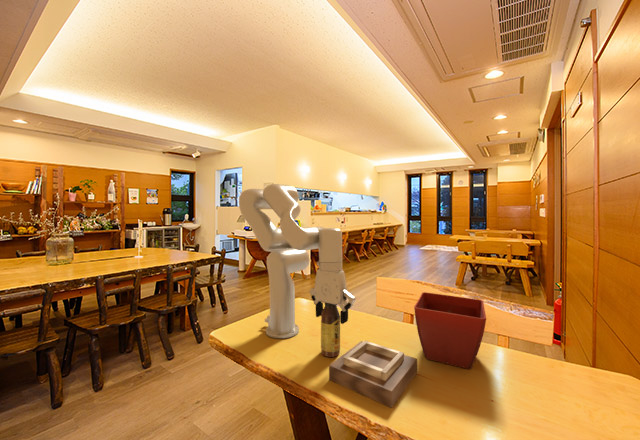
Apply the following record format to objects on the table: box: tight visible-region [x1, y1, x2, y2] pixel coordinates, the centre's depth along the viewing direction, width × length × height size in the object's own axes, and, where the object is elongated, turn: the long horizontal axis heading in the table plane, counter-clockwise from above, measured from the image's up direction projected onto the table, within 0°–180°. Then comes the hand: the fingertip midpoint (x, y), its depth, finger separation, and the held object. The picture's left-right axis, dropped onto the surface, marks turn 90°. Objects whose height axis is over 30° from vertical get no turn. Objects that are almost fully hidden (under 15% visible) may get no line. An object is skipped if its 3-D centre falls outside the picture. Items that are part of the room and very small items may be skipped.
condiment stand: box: [328, 340, 418, 409], centre depth 78 cm, size 18×18×6 cm
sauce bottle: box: [320, 302, 341, 358], centre depth 90 cm, size 6×6×20 cm
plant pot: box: [413, 291, 487, 370], centre depth 89 cm, size 19×19×17 cm
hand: (331, 319), depth 90 cm, fingers open, 9 cm apart
